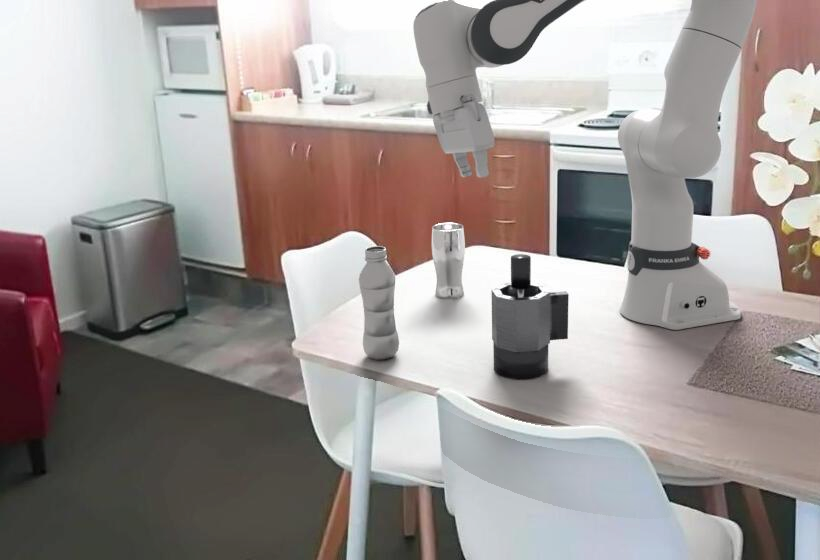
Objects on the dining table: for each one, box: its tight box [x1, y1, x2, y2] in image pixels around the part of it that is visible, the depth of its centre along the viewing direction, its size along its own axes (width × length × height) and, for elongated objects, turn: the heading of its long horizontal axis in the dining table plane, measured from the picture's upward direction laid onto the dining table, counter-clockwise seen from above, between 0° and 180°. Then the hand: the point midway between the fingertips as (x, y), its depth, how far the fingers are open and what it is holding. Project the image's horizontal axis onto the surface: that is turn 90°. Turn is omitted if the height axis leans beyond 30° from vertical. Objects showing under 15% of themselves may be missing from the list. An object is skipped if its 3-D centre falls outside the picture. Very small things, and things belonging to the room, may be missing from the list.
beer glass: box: [431, 222, 466, 300], centre depth 180 cm, size 7×7×15 cm
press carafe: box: [491, 281, 569, 381], centre depth 143 cm, size 12×9×14 cm
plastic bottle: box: [358, 245, 400, 360], centre depth 150 cm, size 6×7×20 cm
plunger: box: [510, 253, 532, 298], centre depth 141 cm, size 5×5×14 cm
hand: (474, 176), depth 149 cm, fingers open, 8 cm apart
